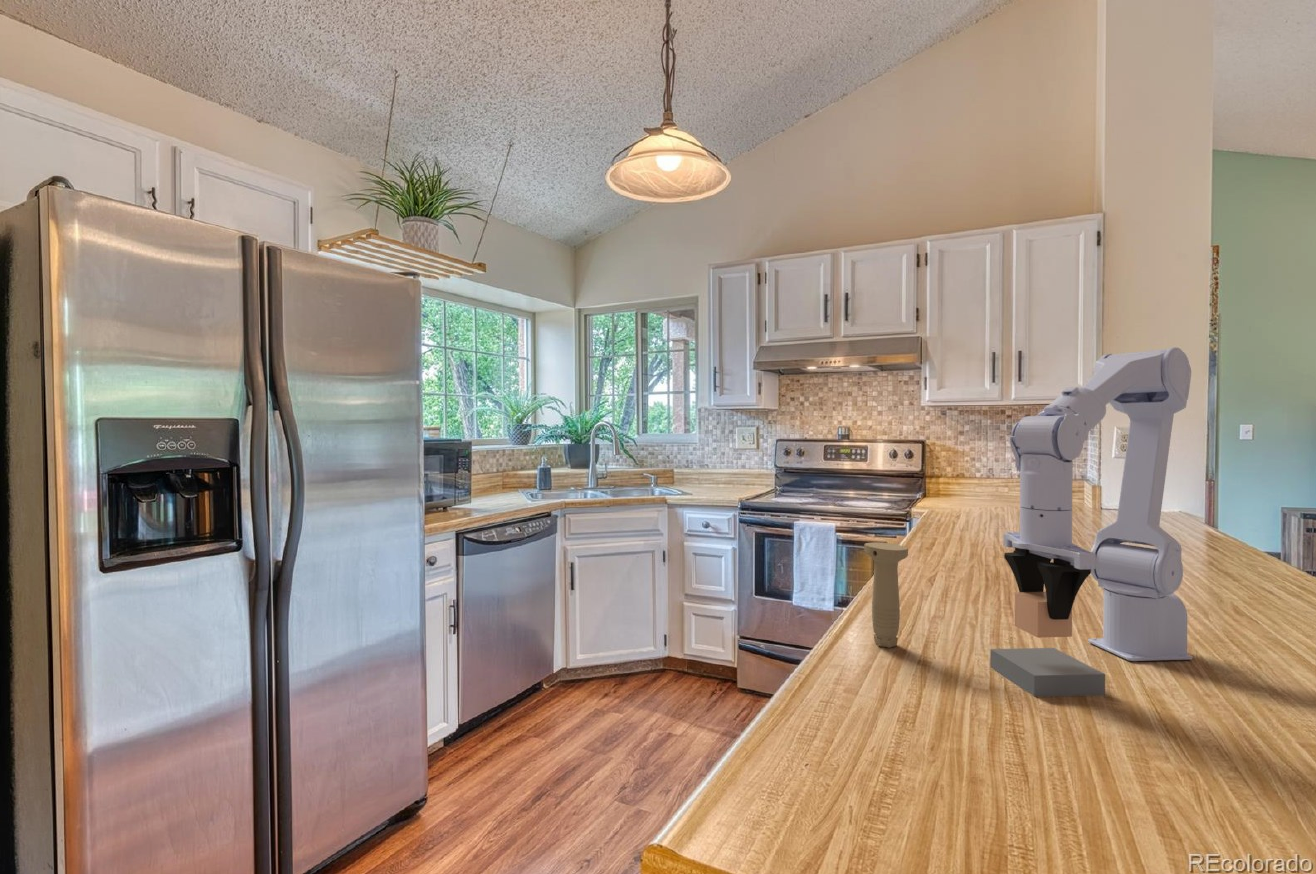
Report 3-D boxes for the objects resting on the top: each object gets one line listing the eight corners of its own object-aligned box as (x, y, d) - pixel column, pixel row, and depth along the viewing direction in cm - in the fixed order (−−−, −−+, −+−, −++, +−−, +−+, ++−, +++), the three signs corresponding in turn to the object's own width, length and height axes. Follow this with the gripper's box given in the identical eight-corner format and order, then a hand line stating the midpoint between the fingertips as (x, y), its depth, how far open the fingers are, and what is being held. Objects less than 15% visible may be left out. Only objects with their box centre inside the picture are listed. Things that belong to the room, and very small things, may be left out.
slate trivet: (1053, 669, 84) (1053, 647, 84) (1105, 698, 75) (1105, 674, 75) (990, 670, 83) (990, 649, 83) (1034, 700, 74) (1034, 675, 74)
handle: (892, 654, 88) (892, 551, 88) (857, 641, 94) (857, 544, 94) (914, 648, 91) (914, 548, 90) (879, 635, 96) (879, 541, 96)
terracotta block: (1047, 625, 81) (1047, 591, 81) (1071, 636, 77) (1072, 601, 77) (1014, 626, 81) (1014, 592, 81) (1037, 637, 77) (1037, 602, 77)
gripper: (982, 501, 86) (982, 597, 86) (1055, 516, 71) (1054, 631, 71) (1030, 501, 86) (1030, 596, 86) (1113, 515, 72) (1112, 630, 72)
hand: (1044, 612), depth 79 cm, fingers closed on terracotta block, 4 cm apart
